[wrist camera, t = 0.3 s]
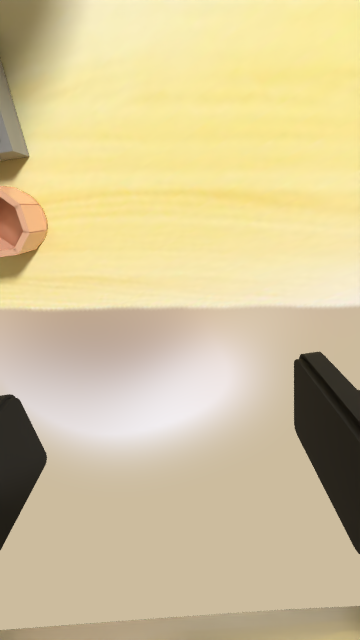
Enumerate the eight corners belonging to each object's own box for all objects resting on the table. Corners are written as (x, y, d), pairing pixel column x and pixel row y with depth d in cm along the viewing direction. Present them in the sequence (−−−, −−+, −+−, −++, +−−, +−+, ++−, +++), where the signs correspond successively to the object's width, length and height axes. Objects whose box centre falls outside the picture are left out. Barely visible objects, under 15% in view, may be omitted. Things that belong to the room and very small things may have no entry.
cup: (-21, 194, 35) (-53, 191, 30) (36, 185, 34) (13, 181, 29) (2, 253, 38) (-24, 260, 33) (54, 246, 37) (36, 252, 32)
